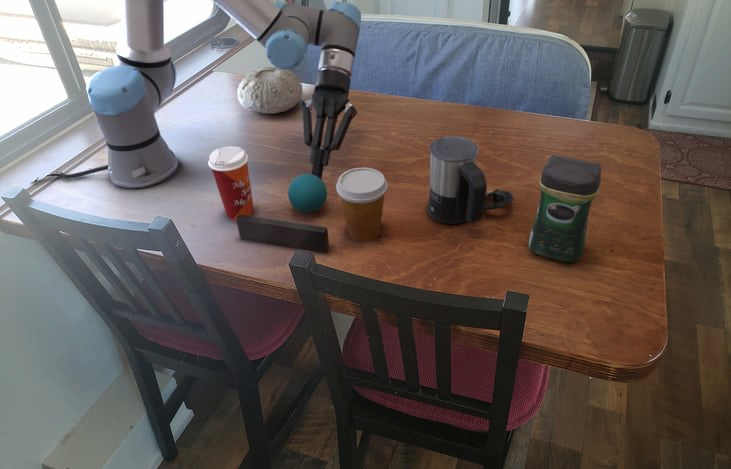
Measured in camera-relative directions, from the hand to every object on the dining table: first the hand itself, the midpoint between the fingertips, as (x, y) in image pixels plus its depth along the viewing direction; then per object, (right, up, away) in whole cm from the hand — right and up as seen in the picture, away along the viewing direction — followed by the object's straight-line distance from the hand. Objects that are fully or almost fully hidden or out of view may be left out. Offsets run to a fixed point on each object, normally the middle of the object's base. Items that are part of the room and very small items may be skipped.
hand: (315, 179), depth 117 cm
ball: (-1, -3, -6) cm, 7 cm away
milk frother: (+32, -7, -5) cm, 33 cm away
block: (-5, -14, -12) cm, 19 cm away
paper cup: (-15, -7, -3) cm, 17 cm away
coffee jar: (+46, -15, -16) cm, 51 cm away
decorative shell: (-16, +24, +36) cm, 46 cm away
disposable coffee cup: (+10, -11, -10) cm, 18 cm away
